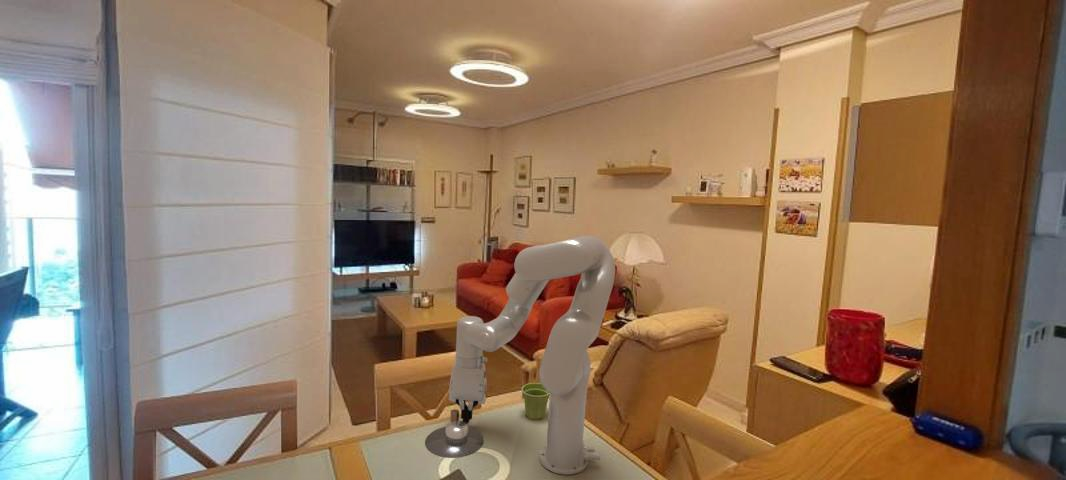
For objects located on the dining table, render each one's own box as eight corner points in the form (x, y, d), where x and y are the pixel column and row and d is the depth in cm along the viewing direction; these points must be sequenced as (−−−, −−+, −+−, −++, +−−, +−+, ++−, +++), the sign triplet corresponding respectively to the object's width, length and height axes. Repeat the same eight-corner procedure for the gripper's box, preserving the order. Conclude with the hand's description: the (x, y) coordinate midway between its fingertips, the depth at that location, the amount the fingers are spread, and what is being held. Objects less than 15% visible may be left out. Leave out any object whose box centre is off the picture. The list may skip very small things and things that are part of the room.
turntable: (467, 423, 137) (467, 404, 136) (494, 449, 124) (495, 428, 123) (415, 438, 127) (416, 418, 127) (439, 468, 114) (440, 445, 114)
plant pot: (547, 425, 139) (548, 397, 138) (517, 420, 140) (518, 393, 139) (552, 410, 148) (553, 385, 147) (523, 406, 150) (525, 381, 149)
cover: (461, 432, 130) (461, 418, 129) (471, 442, 125) (471, 428, 125) (441, 437, 126) (442, 424, 126) (451, 448, 122) (451, 434, 121)
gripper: (496, 357, 133) (494, 417, 135) (446, 353, 134) (444, 412, 136) (492, 367, 126) (489, 430, 128) (439, 362, 127) (437, 425, 129)
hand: (466, 421), depth 132 cm, fingers closed
